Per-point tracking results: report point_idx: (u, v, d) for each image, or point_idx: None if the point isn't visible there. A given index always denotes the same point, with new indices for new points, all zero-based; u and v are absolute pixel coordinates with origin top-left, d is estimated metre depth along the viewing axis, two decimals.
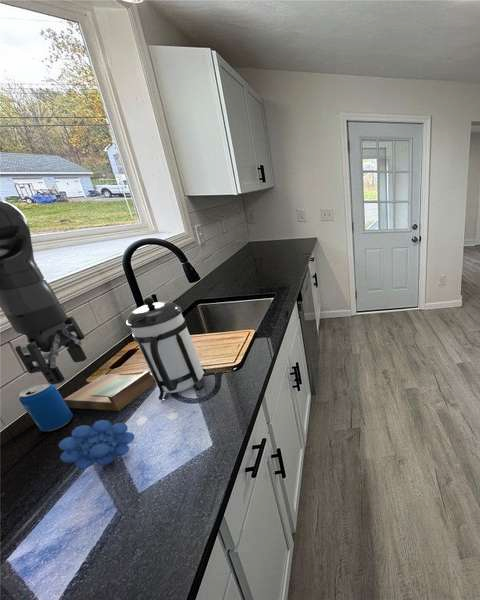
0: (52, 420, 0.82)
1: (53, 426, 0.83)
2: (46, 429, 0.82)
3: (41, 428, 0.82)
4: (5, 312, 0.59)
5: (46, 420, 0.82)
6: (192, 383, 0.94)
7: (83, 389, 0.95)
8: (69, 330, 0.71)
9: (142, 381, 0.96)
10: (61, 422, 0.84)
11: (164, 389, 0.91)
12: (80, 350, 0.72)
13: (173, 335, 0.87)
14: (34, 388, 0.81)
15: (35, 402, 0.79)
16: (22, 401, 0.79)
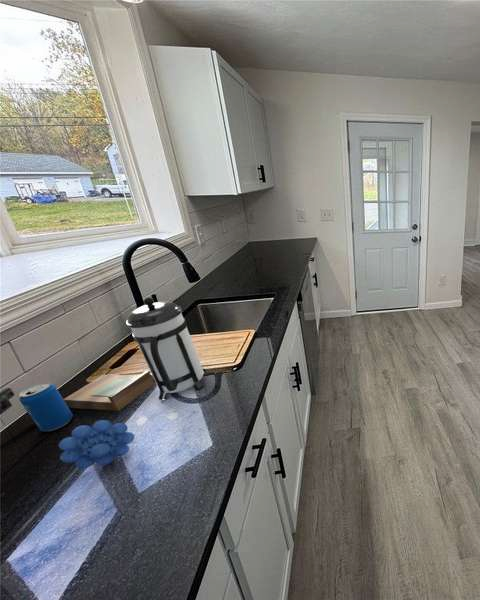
0: (52, 420, 0.82)
1: (53, 426, 0.83)
2: (46, 429, 0.82)
3: (41, 428, 0.82)
4: None
5: (46, 420, 0.82)
6: (192, 383, 0.94)
7: (83, 389, 0.95)
8: None
9: (142, 381, 0.96)
10: (61, 422, 0.84)
11: (164, 389, 0.91)
12: None
13: (173, 335, 0.87)
14: (34, 388, 0.81)
15: (35, 402, 0.79)
16: (22, 401, 0.79)
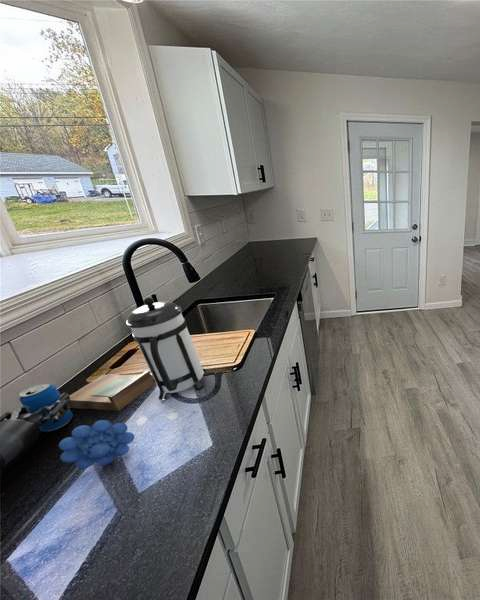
0: None
1: (53, 426, 0.83)
2: (46, 429, 0.82)
3: (41, 428, 0.82)
4: None
5: None
6: (192, 383, 0.94)
7: (83, 389, 0.95)
8: None
9: (142, 381, 0.96)
10: (61, 422, 0.84)
11: (164, 389, 0.91)
12: None
13: (173, 335, 0.87)
14: (34, 388, 0.81)
15: (35, 402, 0.79)
16: (22, 401, 0.79)
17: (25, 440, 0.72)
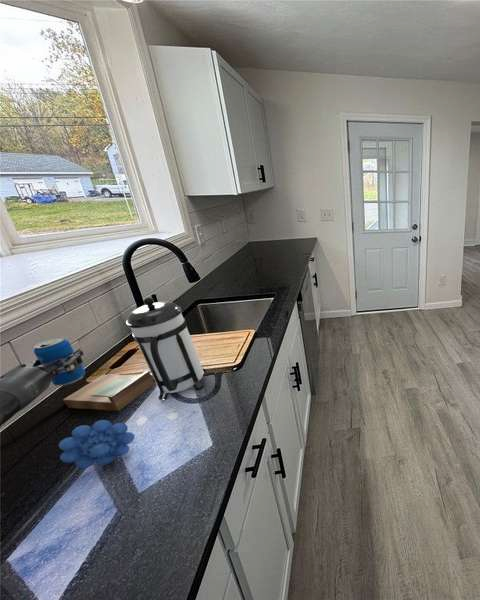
0: (65, 374, 0.83)
1: (66, 380, 0.83)
2: (59, 383, 0.83)
3: (54, 382, 0.82)
4: None
5: (59, 374, 0.82)
6: (192, 383, 0.94)
7: (83, 389, 0.95)
8: None
9: (142, 381, 0.96)
10: (74, 377, 0.84)
11: (164, 389, 0.91)
12: None
13: (173, 335, 0.87)
14: (48, 342, 0.82)
15: (49, 354, 0.80)
16: (36, 353, 0.79)
17: (40, 387, 0.73)
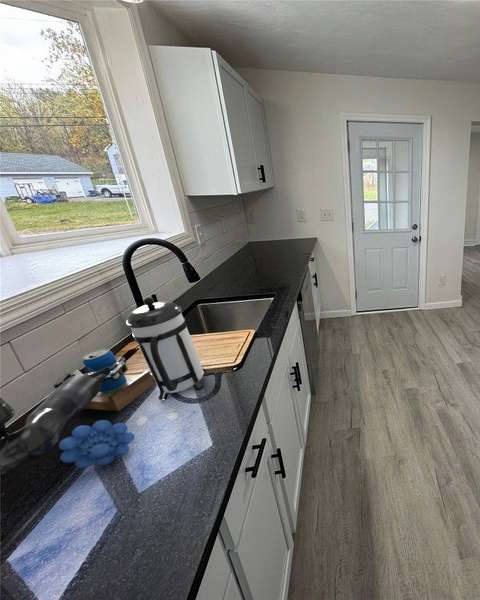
0: (110, 382, 0.91)
1: (111, 388, 0.91)
2: (105, 390, 0.91)
3: (101, 389, 0.91)
4: None
5: (105, 382, 0.90)
6: (192, 383, 0.94)
7: None
8: None
9: (142, 381, 0.96)
10: (118, 385, 0.92)
11: (164, 389, 0.91)
12: None
13: (173, 335, 0.87)
14: (95, 353, 0.90)
15: (97, 365, 0.88)
16: (86, 363, 0.87)
17: (92, 393, 0.81)
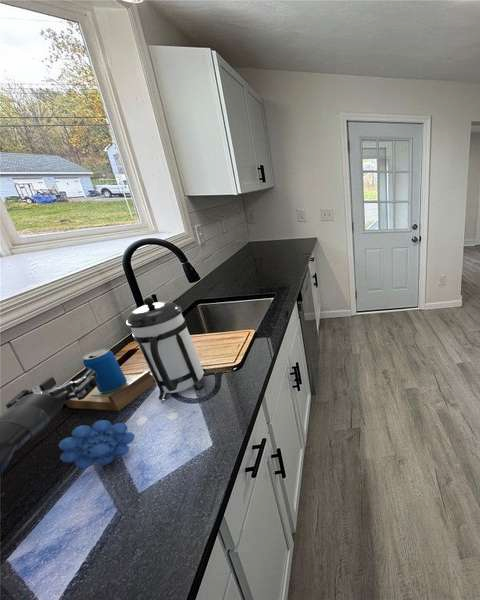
0: (110, 382, 0.91)
1: (111, 388, 0.91)
2: (105, 390, 0.91)
3: (101, 389, 0.91)
4: None
5: (105, 382, 0.90)
6: (192, 383, 0.94)
7: None
8: None
9: (142, 381, 0.96)
10: (118, 385, 0.92)
11: (164, 389, 0.91)
12: None
13: (173, 335, 0.87)
14: (95, 353, 0.90)
15: (97, 365, 0.88)
16: (86, 363, 0.87)
17: (51, 415, 0.68)
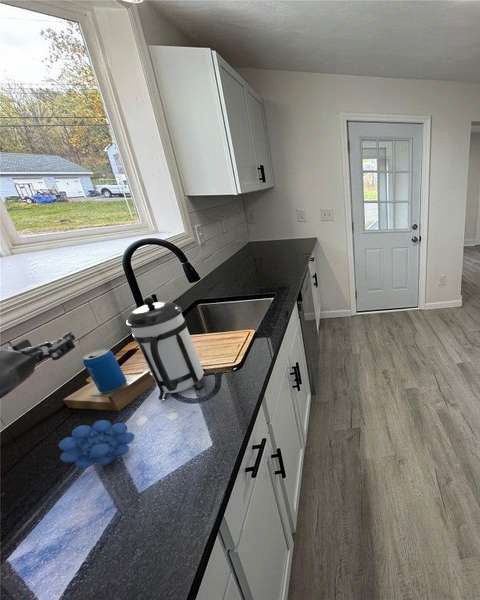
0: (110, 382, 0.91)
1: (111, 388, 0.91)
2: (105, 390, 0.91)
3: (101, 389, 0.91)
4: None
5: (105, 382, 0.90)
6: (192, 383, 0.94)
7: (83, 389, 0.95)
8: None
9: (142, 381, 0.96)
10: (118, 385, 0.92)
11: (164, 389, 0.91)
12: None
13: (173, 335, 0.87)
14: (95, 353, 0.90)
15: (97, 365, 0.88)
16: (86, 363, 0.87)
17: (22, 374, 0.63)
